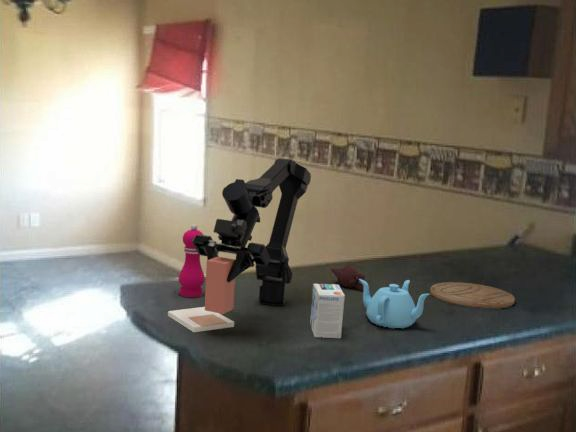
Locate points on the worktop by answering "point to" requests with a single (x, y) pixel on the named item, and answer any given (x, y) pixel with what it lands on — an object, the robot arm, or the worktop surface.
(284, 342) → the worktop surface
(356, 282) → the maroon lumpy piece
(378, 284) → the worktop surface
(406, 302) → the teapot
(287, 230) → the robot arm
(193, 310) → the board
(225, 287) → the block
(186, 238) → the pepper mill
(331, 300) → the light bulb box
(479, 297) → the trivet
